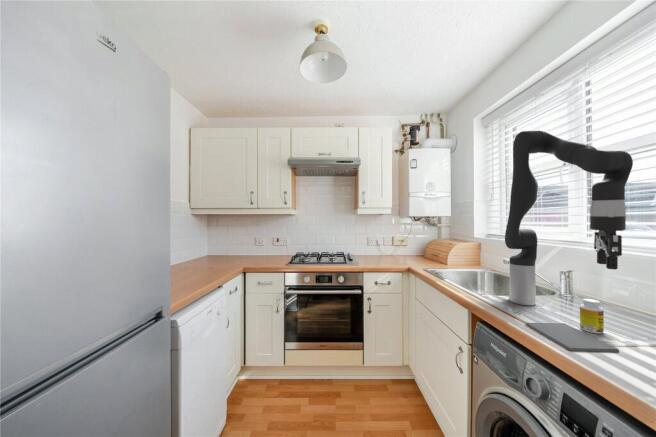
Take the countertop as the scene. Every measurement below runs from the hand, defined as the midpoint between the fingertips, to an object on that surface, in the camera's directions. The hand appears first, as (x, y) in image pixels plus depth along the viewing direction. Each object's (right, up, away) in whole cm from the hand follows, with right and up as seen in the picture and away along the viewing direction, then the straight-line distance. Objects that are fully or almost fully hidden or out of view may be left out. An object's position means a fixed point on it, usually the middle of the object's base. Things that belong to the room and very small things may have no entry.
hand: (606, 266), depth 80 cm
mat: (-11, -23, +1) cm, 25 cm away
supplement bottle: (+1, -23, +6) cm, 24 cm away
